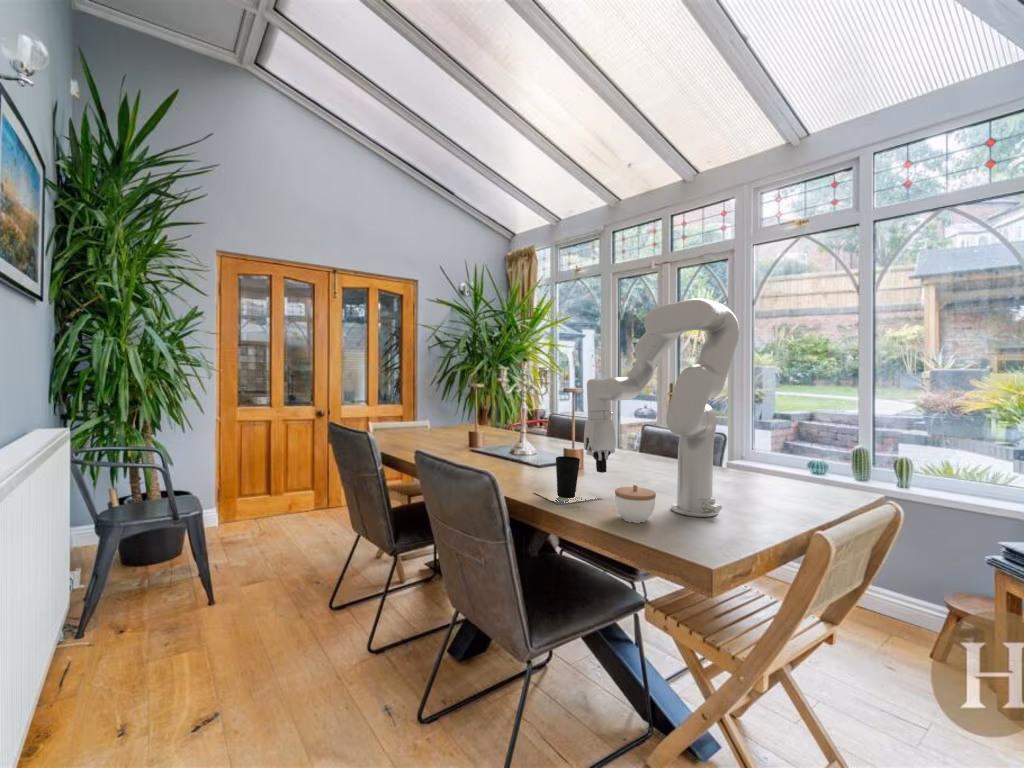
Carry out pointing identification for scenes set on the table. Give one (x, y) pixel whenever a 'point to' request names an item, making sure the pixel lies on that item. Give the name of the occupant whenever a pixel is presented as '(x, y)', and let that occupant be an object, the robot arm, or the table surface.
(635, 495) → the lidded jar
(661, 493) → the table surface
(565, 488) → the cup
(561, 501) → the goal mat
